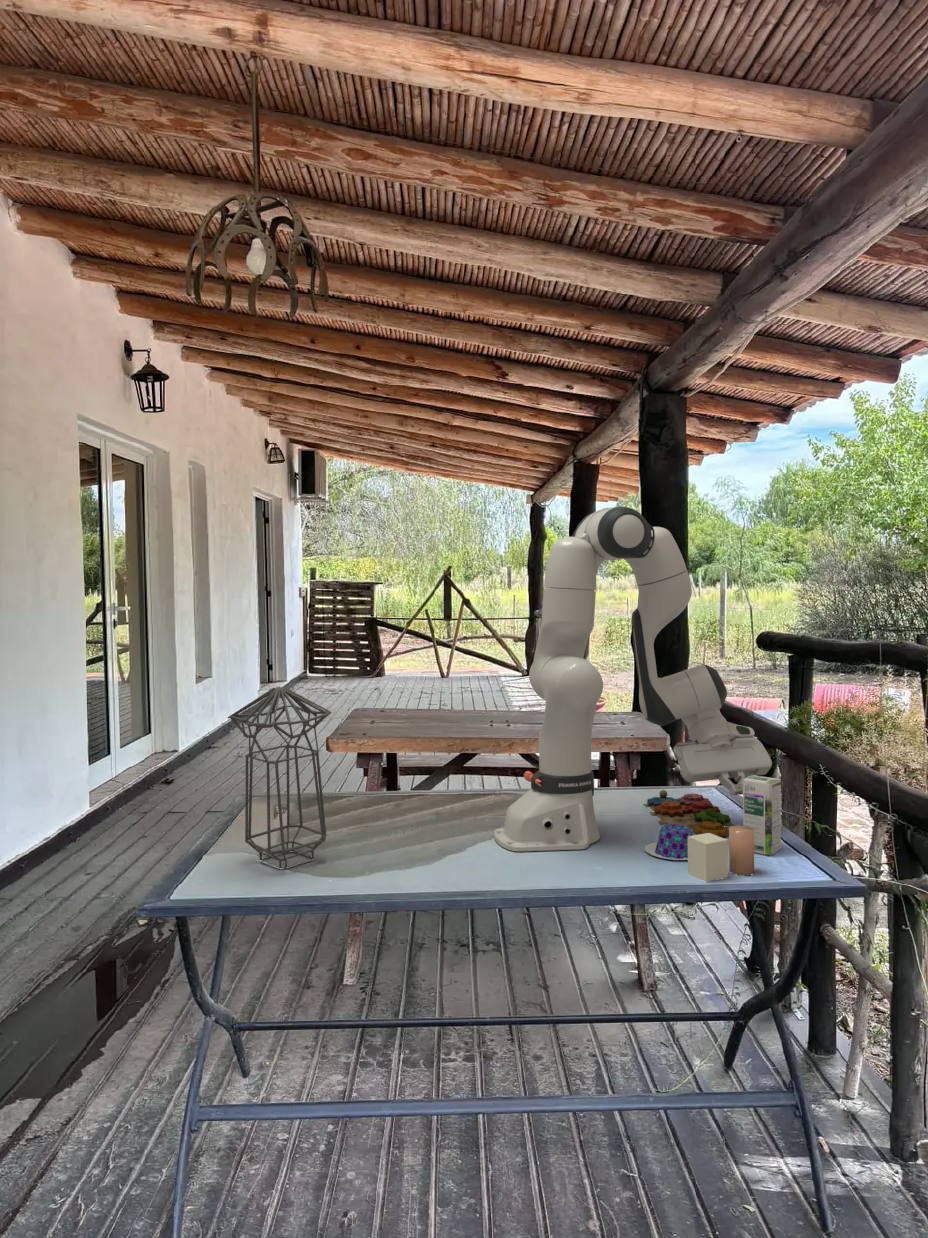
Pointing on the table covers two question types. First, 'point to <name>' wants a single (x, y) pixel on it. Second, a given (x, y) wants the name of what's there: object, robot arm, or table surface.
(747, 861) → the terracotta cylinder
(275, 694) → the geometric lantern
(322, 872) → the table surface
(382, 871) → the table surface
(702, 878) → the cream block
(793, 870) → the table surface
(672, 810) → the gear puzzle
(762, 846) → the syrup box
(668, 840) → the pudding
